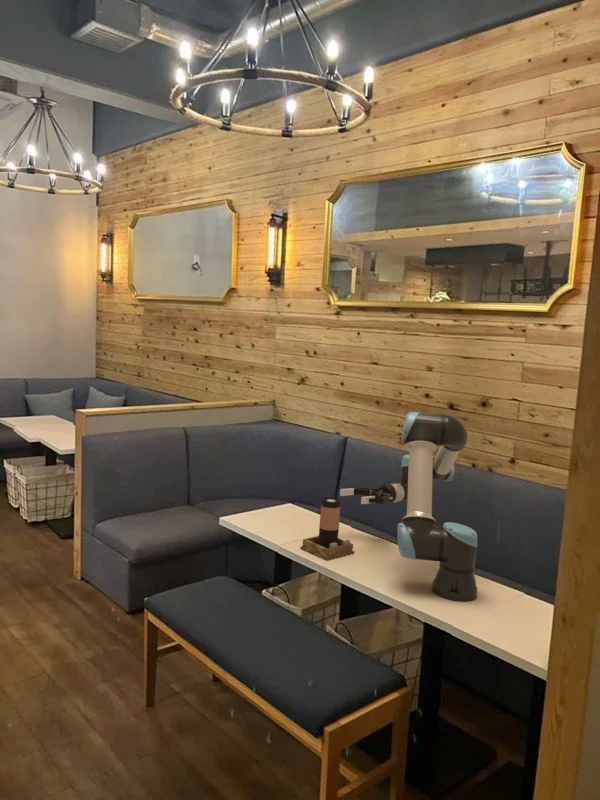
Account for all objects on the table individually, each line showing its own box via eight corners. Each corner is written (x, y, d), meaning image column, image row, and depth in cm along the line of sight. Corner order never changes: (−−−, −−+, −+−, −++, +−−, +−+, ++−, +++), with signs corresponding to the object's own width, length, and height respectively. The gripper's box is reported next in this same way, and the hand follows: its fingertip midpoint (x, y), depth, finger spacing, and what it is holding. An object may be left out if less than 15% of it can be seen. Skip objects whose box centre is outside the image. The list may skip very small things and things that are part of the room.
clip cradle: (354, 553, 247) (355, 539, 246) (326, 560, 237) (327, 546, 237) (327, 542, 258) (328, 529, 258) (300, 548, 248) (301, 534, 248)
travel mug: (314, 549, 246) (318, 499, 244) (322, 544, 253) (326, 495, 251) (332, 553, 243) (336, 503, 240) (340, 548, 249) (344, 499, 247)
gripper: (410, 509, 253) (370, 513, 241) (370, 494, 274) (331, 498, 262) (412, 491, 252) (371, 494, 241) (372, 478, 273) (333, 480, 261)
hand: (350, 496), depth 251 cm, fingers open, 13 cm apart
